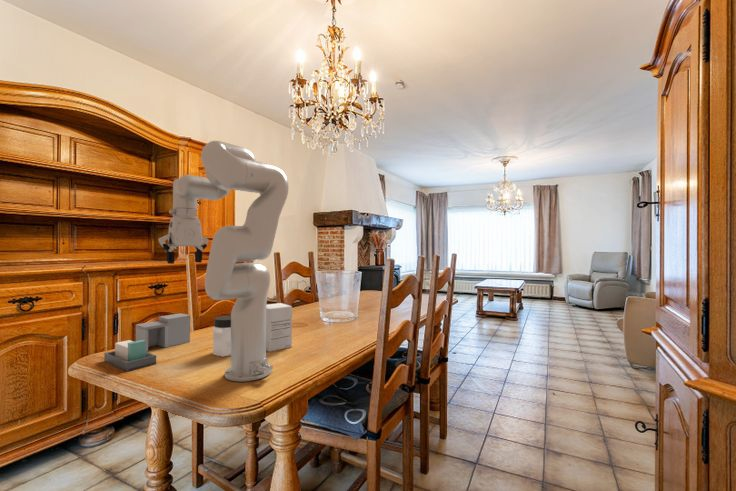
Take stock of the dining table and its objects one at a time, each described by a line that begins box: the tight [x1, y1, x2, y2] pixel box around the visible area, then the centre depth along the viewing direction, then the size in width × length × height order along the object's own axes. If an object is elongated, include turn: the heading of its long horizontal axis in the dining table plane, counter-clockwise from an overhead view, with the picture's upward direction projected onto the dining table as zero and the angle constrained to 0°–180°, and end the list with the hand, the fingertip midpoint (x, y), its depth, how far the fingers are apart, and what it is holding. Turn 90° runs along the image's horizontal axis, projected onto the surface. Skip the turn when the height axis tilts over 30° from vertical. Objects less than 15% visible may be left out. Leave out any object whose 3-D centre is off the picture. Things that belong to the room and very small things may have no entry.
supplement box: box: [266, 302, 293, 352], centre depth 124 cm, size 9×9×15 cm
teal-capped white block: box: [114, 339, 145, 362], centre depth 107 cm, size 11×4×6 cm, turn 56°
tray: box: [103, 350, 157, 372], centre depth 107 cm, size 16×8×2 cm, turn 56°
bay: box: [135, 312, 191, 353], centre depth 125 cm, size 7×16×10 cm, turn 146°
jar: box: [212, 314, 231, 358], centre depth 117 cm, size 9×8×12 cm
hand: (184, 262), depth 121 cm, fingers open, 9 cm apart
